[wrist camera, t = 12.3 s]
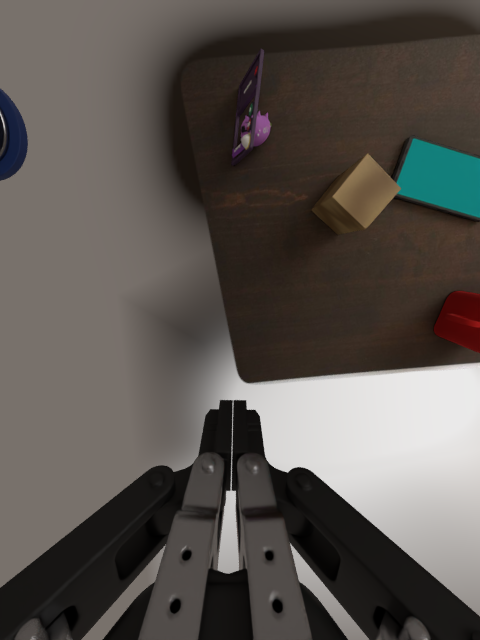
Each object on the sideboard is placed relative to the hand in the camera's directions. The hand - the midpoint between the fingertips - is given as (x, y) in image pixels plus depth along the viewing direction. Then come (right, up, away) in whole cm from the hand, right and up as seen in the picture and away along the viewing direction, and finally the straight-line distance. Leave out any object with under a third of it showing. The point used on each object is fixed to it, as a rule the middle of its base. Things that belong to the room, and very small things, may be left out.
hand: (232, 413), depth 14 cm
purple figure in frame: (+2, +31, +18) cm, 36 cm away
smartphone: (+29, +25, +20) cm, 43 cm away
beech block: (+15, +22, +21) cm, 33 cm away
